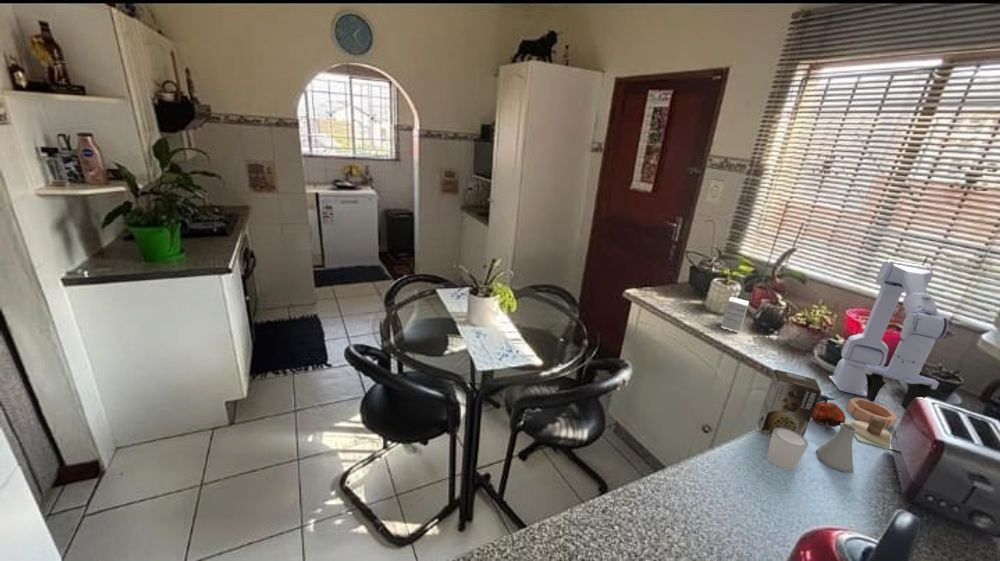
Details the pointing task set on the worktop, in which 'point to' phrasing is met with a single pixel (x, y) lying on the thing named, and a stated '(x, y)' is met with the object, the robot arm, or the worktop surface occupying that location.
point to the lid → (873, 431)
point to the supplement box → (735, 313)
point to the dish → (870, 411)
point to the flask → (839, 449)
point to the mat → (861, 439)
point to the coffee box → (788, 403)
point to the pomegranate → (828, 414)
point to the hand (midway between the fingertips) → (887, 403)
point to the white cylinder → (786, 448)
